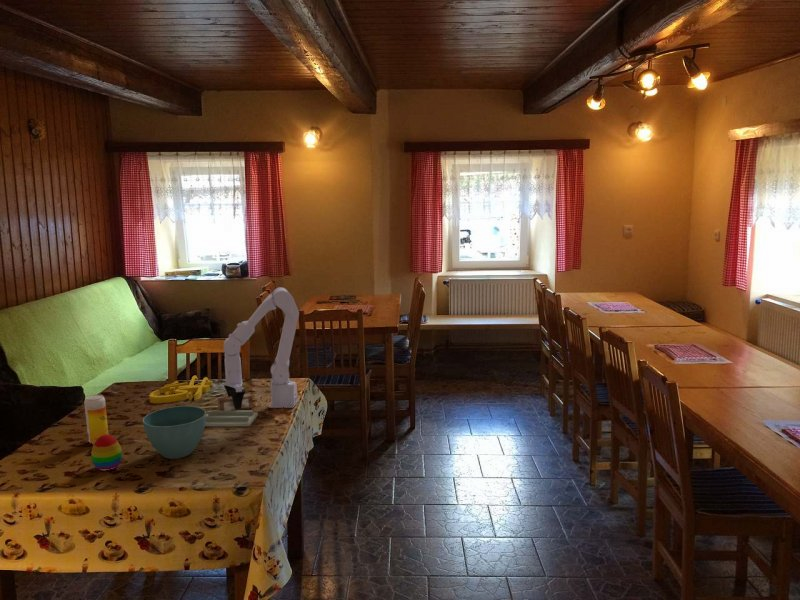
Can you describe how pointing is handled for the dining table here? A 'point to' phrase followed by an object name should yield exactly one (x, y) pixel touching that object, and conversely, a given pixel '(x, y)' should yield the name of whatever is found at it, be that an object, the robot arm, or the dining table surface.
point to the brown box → (228, 405)
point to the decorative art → (181, 391)
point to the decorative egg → (106, 452)
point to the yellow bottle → (95, 417)
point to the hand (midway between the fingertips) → (235, 405)
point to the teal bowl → (175, 430)
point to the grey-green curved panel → (230, 418)
